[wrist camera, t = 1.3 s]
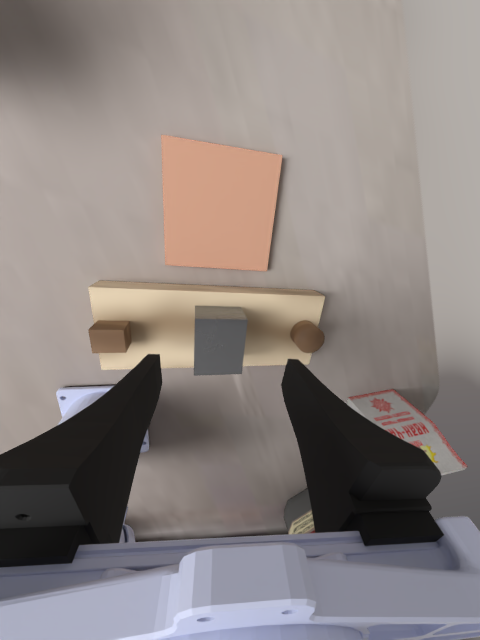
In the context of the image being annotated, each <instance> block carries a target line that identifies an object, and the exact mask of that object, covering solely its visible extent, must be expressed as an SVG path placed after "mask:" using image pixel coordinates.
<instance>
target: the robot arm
mask: <svg viewBox="0 0 480 640" xmlns="http://www.w3.org/2000/svg"><path fill="white" fill-rule="evenodd" d="M161 386H162V374H161V363H160V354H148V355H146V356H145V357H144V358H143V359H142V360H141V361H140V362H139V363H138V364H137V365H136V366H135V367H134V368H133V369H132V370H131V371H130V372H129V373H128V374H127V375H126V376H125V377H124V378H123V379H122V380H121V381H119V382H118V383H117V384H116V385H115V386H91V387H66V388H60V389H59V390H58V391H57V392H56V395H57V399H58V402H59V406H60V410H61V414H62V419H61V421H60V422H59V424H58V425H57V426H56V427H54V428H52V429H50V430H49V431H47V432H45V433H43V434H41V435H39V436H38V437H36V438H34V439H32V440H30V441H28V442H26V443H24V444H22V445H19V446H17V447H15V448H13V449H11V450H9V451H7V452H5V453H3V454H1V455H0V640H458V639H466V638H473V637H480V531H479V530H478V529H477V528H476V526H475V525H474V524H473V522H472V521H471V520H470V518H469V517H466V516H456V517H441V518H438V519H435V520H434V519H433V517H432V516H431V514H430V513H429V511H430V510H431V505H430V504H429V502H428V501H427V499H426V497H427V496H428V494H430V493H431V492H432V491H433V490H434V488H435V487H436V486H437V485H438V484H439V482H440V479H441V473H440V471H439V469H438V468H437V467H436V465H435V464H434V463H433V462H432V460H431V459H430V458H429V457H428V455H427V454H426V453H425V452H424V450H422V449H420V448H418V447H416V446H414V445H412V444H410V443H408V442H406V441H404V440H402V439H400V438H398V437H396V436H395V435H393V434H391V433H389V432H388V431H386V430H384V429H382V428H381V427H379V426H378V425H376V424H374V423H373V422H371V421H370V420H368V419H367V418H365V417H364V416H362V415H361V414H359V413H358V412H356V411H355V410H354V409H352V408H351V407H350V406H348V405H347V404H346V403H344V402H343V401H342V400H341V399H339V398H338V397H337V396H336V395H335V394H334V393H332V392H331V391H330V390H329V389H328V388H327V387H326V386H325V385H324V384H323V383H321V382H320V381H319V380H318V379H317V378H316V377H315V376H314V375H313V374H312V373H311V372H310V371H309V370H308V369H307V368H306V367H305V366H304V365H303V363H302V362H301V361H299V360H298V359H288V360H287V364H286V368H285V372H284V376H283V380H282V384H281V386H282V392H283V397H284V402H285V405H286V408H287V411H288V414H289V417H290V420H291V423H292V426H293V429H294V432H295V435H296V438H297V442H298V445H299V449H300V454H301V458H302V462H303V467H304V472H305V477H306V482H307V487H308V492H309V498H310V503H311V509H312V515H313V522H314V528H315V533H306V534H287V535H267V536H247V537H228V538H208V539H188V540H169V541H149V542H135V536H134V531H133V529H132V528H131V527H130V526H129V525H126V524H124V523H125V518H126V514H127V510H128V506H127V504H128V499H129V495H130V491H131V486H132V482H133V478H134V474H135V470H136V466H137V462H138V458H139V454H140V453H141V452H147V451H148V450H149V435H148V427H149V424H150V421H151V418H152V416H153V413H154V410H155V407H156V405H157V402H158V399H159V394H160V390H161ZM63 396H64V397H63ZM65 397H66V398H65Z"/></svg>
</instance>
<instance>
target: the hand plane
mask: <svg viewBox="0 0 480 640" xmlns="http://www.w3.org/2000/svg"><path fill="white" fill-rule="evenodd" d="M88 288H89V294H90V301H91V307H92V313H93V319H94V325H93V326H92V327H91V328H90V329H89V336H90V342H91V348H92V353H99V357H100V363H101V369H102V370H115V369H133V368H134V367H135V366H136V365H137V364H138V363H139V362H140V361H141V360H142V359H143V358H144V357H145V356H146V355H148V354H160V363H161V368H191V367H194V325H195V306H231V307H241V308H242V310H243V312H244V314H245V315H246V317H247V319H248V322H247V331H246V340H245V349H244V358H243V366H267V365H286V364H287V360H288V359H298V360H299V361H301V362H302V363H303V365H306V364H309V362H310V358H311V354H312V353H313V352H315V351H317V350H318V349H319V348H320V347H321V346H322V345H323V343H324V333H323V332H322V331H321V330H320V329H319V328H318V325H319V321H320V316H321V312H322V308H323V304H324V300H325V296H324V295H322V294H320V293H318V292H316V291H315V290H297V289H275V288H253V287H231V286H208V285H186V284H164V283H142V282H120V281H98V282H96V283H94V284H93V285H91V286H89V287H88Z"/></svg>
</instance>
